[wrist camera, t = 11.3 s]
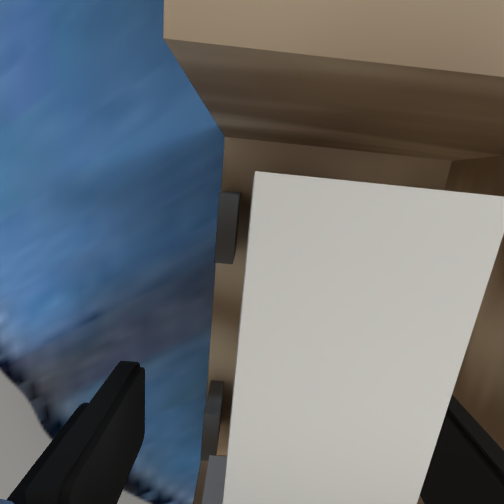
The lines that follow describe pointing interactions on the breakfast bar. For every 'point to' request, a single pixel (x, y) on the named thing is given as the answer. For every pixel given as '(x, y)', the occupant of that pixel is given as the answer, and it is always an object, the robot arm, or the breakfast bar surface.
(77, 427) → the robot arm
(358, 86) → the cabinet
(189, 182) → the breakfast bar surface
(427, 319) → the door
